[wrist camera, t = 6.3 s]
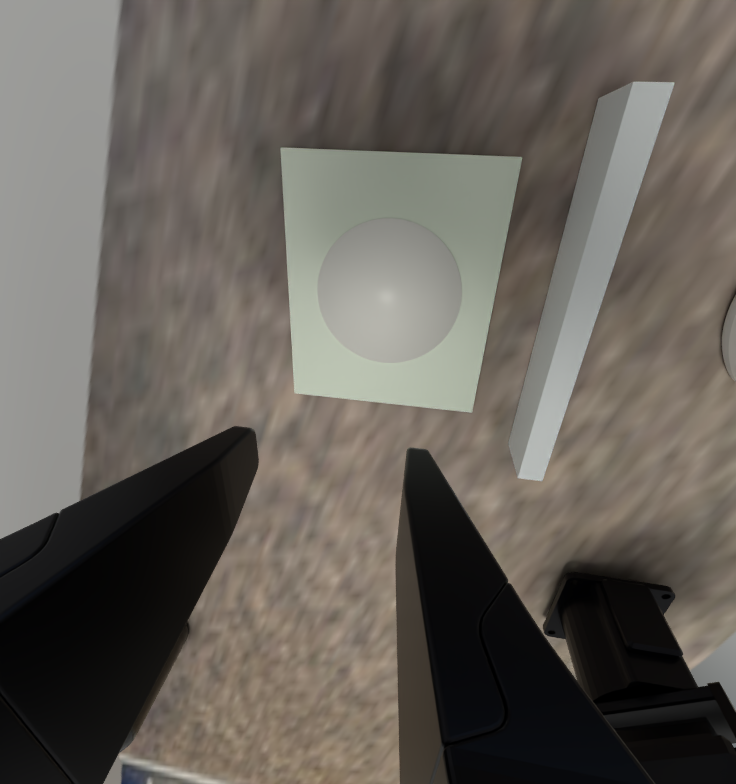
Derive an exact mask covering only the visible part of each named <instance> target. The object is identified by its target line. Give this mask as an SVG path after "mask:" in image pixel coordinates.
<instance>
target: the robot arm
mask: <svg viewBox="0 0 736 784" xmlns="http://www.w3.org/2000/svg"><path fill="white" fill-rule="evenodd" d="M258 463H259V458H258V450H257V441H256V434H255V431H254V430H253V429H252V428H247V427H239V426H234V427H232V428H229V429H227V430H225V431H223V432H221V433H219V434H217V435H215V436H213V437H211V438H209V439H207V440H205V441H203V442H201V443H199V444H197V445H194V446H192V447H190V448H188V449H186V450H184V451H182V452H180V453H178V454H176V455H174V456H172V457H170V458H168V459H166V460H164V461H161V462H159V463H157V464H155V465H153V466H151V467H149V468H147V469H145V470H143V471H141V472H139V473H137V474H135V475H133V476H131V477H128V478H126V479H124V480H122V481H120V482H118V483H116V484H114V485H112V486H110V487H108V488H106V489H104V490H102V491H100V492H98V493H95V494H93V495H91V496H89V497H87V498H85V499H83V500H81V501H79V502H77V503H75V504H73V505H71V506H69V507H67V508H65V509H62V510H61V511H60V513H54V514H52V515H50V516H48V517H46V518H44V519H42V520H40V521H38V522H36V523H34V524H32V525H29V526H27V527H25V528H23V529H21V530H19V531H17V532H15V533H12V534H10V535H8V536H6V537H4V538H2V539H0V784H103V783H104V781H105V779H106V777H107V775H108V773H109V771H110V769H111V767H112V765H113V763H114V762H115V760H116V758H117V756H118V754H119V752H120V750H121V748H122V746H123V744H124V742H125V740H126V738H127V736H128V735H129V733H130V731H131V729H132V727H133V725H134V723H135V721H136V719H137V717H138V715H139V713H140V711H141V709H142V708H143V706H144V704H145V702H146V700H147V698H148V696H149V694H150V692H151V690H152V688H153V686H154V684H155V682H156V681H157V679H158V677H159V675H160V673H161V671H162V669H163V667H164V665H165V663H166V661H167V659H168V657H169V655H170V654H171V652H172V650H173V648H174V646H175V644H176V642H177V640H178V638H179V636H180V634H181V632H182V630H183V628H184V627H185V625H186V623H187V621H188V619H189V617H190V615H191V613H192V611H193V609H194V607H195V605H196V603H197V601H198V600H199V598H200V596H201V594H202V592H203V590H204V588H205V586H206V584H207V582H208V580H209V578H210V576H211V574H212V573H213V571H214V569H215V567H216V565H217V563H218V561H219V559H220V557H221V555H222V553H223V551H224V549H225V547H226V546H227V544H228V542H229V539H230V537H231V535H232V533H233V531H234V529H235V526H236V524H237V521H238V519H239V516H240V513H241V511H242V508H243V506H244V503H245V500H246V498H247V495H248V493H249V490H250V487H251V485H252V482H253V480H254V477H255V474H256V472H257V469H258ZM674 598H675V594H674V592H673V590H672V589H671V588H670V587H668V586H663V585H657V584H650V583H643V582H637V581H630V580H623V579H616V578H610V577H603V576H596V575H590V574H583V573H576V572H570V573H567V574H566V575H565V576H564V578H563V581H562V583H561V585H560V588H559V590H558V592H557V595H556V597H555V599H554V601H553V604H552V606H551V608H550V611H549V613H548V615H547V618H546V620H545V622H544V624H543V630H544V633H545V635H547V636H550V637H556V638H562V639H566V642H567V646H568V649H569V653H570V656H571V660H572V663H573V667H574V670H575V674H576V677H577V680H576V679H575V677H574V676H573V675H572V673H571V672H570V671H569V669H568V668H567V667H566V665H565V664H564V662H563V661H562V660H561V658H560V657H559V656H558V654H557V653H556V651H555V650H554V649H553V647H552V646H551V645H550V643H549V642H548V640H547V639H546V638H545V636H544V635H543V633H542V632H541V630H540V629H539V627H538V626H537V624H536V623H535V621H534V620H533V618H532V616H531V615H530V613H529V612H528V610H527V609H526V607H525V606H524V604H523V603H522V601H521V599H520V598H519V596H518V595H517V593H516V591H515V590H514V588H513V586H512V585H511V584H510V583H508V579H507V577H506V575H505V574H504V572H503V571H502V569H501V567H500V566H499V564H498V562H497V561H496V559H495V558H494V556H493V554H492V553H491V551H490V550H489V548H488V546H487V545H486V543H485V542H484V540H483V538H482V537H481V535H480V533H479V532H478V530H477V529H476V527H475V525H474V524H473V522H472V521H471V519H470V517H469V516H468V514H467V512H466V511H465V509H464V508H463V506H462V504H461V503H460V501H459V500H458V498H457V496H456V495H455V493H454V491H453V490H452V488H451V487H450V485H449V483H448V482H447V480H446V479H445V477H444V475H443V474H442V472H441V471H440V469H439V467H438V466H437V464H436V462H435V461H434V459H433V458H432V456H431V454H430V453H429V451H428V450H426V449H419V448H408V449H407V453H406V462H405V471H404V480H403V489H402V499H401V508H400V518H399V527H398V537H397V547H396V612H397V661H398V709H399V758H400V784H736V748H734V747H733V745H732V743H736V710H735V708H734V707H733V705H732V703H731V701H730V700H729V698H728V696H727V695H726V693H725V691H724V690H723V688H722V686H721V685H720V683H719V682H714V683H708V686H703V687H698V686H697V684H696V682H695V680H694V678H693V676H692V674H691V672H690V670H689V668H688V666H687V664H686V662H685V661H684V659H683V657H682V655H683V652H682V650H681V648H680V646H679V644H678V642H677V640H676V638H675V636H674V634H673V633H672V631H671V629H670V627H669V625H668V623H667V621H666V619H665V617H664V613H665V612H666V610H667V609H668V607H669V606H670V604H671V603H672V601H673V600H674Z"/></svg>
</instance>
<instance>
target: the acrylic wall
mask: <svg viewBox="0 0 736 784" xmlns="http://www.w3.org/2000/svg"><path fill="white" fill-rule="evenodd" d="M674 84H675V82H632V83H629V84H627V85H625V86H623V87H621V88H619V89H617V90H615V91H613V92H611V93H608V94H606V95H604V96H602V97H600V98H598V102H597V106H596V110H595V113H594V117H593V121H592V125H591V129H590V133H589V136H588V140H587V144H586V148H585V152H584V156H583V159H582V163H581V167H580V171H579V175H578V178H577V182H576V186H575V190H574V194H573V198H572V201H571V205H570V209H569V213H568V217H567V220H566V224H565V228H564V232H563V236H562V240H561V243H560V247H559V251H558V255H557V259H556V262H555V266H554V270H553V274H552V278H551V282H550V285H549V289H548V293H547V297H546V301H545V305H544V308H543V312H542V316H541V320H540V324H539V327H538V331H537V335H536V339H535V343H534V347H533V350H532V354H531V358H530V362H529V366H528V369H527V373H526V377H525V381H524V385H523V389H522V392H521V396H520V400H519V404H518V408H517V411H516V415H515V419H514V423H513V427H512V431H511V434H510V438H509V442H508V445H509V448H510V452H511V455H512V459H513V463H514V466H515V470H516V474H517V477H518V478H521V479H529V480H537V481H543V478H544V475H545V472H546V469H547V466H548V463H549V460H550V457H551V453H552V450H553V447H554V444H555V441H556V438H557V435H558V432H559V429H560V426H561V423H562V420H563V417H564V414H565V411H566V408H567V405H568V402H569V399H570V396H571V393H572V390H573V387H574V384H575V381H576V378H577V375H578V372H579V369H580V366H581V363H582V360H583V357H584V354H585V351H586V348H587V345H588V342H589V339H590V336H591V333H592V330H593V327H594V324H595V321H596V318H597V315H598V312H599V309H600V306H601V303H602V300H603V297H604V294H605V291H606V288H607V285H608V282H609V279H610V276H611V273H612V270H613V267H614V264H615V261H616V258H617V255H618V252H619V249H620V246H621V243H622V240H623V237H624V234H625V231H626V228H627V225H628V222H629V219H630V216H631V213H632V210H633V207H634V204H635V201H636V198H637V195H638V192H639V189H640V186H641V183H642V180H643V177H644V174H645V171H646V168H647V165H648V162H649V159H650V156H651V153H652V150H653V147H654V144H655V141H656V138H657V135H658V132H659V129H660V126H661V123H662V120H663V117H664V114H665V111H666V108H667V105H668V102H669V99H670V96H671V93H672V90H673V87H674Z"/></svg>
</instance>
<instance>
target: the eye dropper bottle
mask: <svg viewBox="0 0 736 784" xmlns="http://www.w3.org/2000/svg"><path fill="white" fill-rule="evenodd" d="M722 352H723V358H724V362H725V366H726V368H727V371H728V373H729V375H730V376H731V378H732V379H733V380H735V381H736V295H735V297H734V299H733V301H732V303H731V305H730V308H729V310H728V313H727V316H726V319H725V322H724V327H723V333H722Z"/></svg>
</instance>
